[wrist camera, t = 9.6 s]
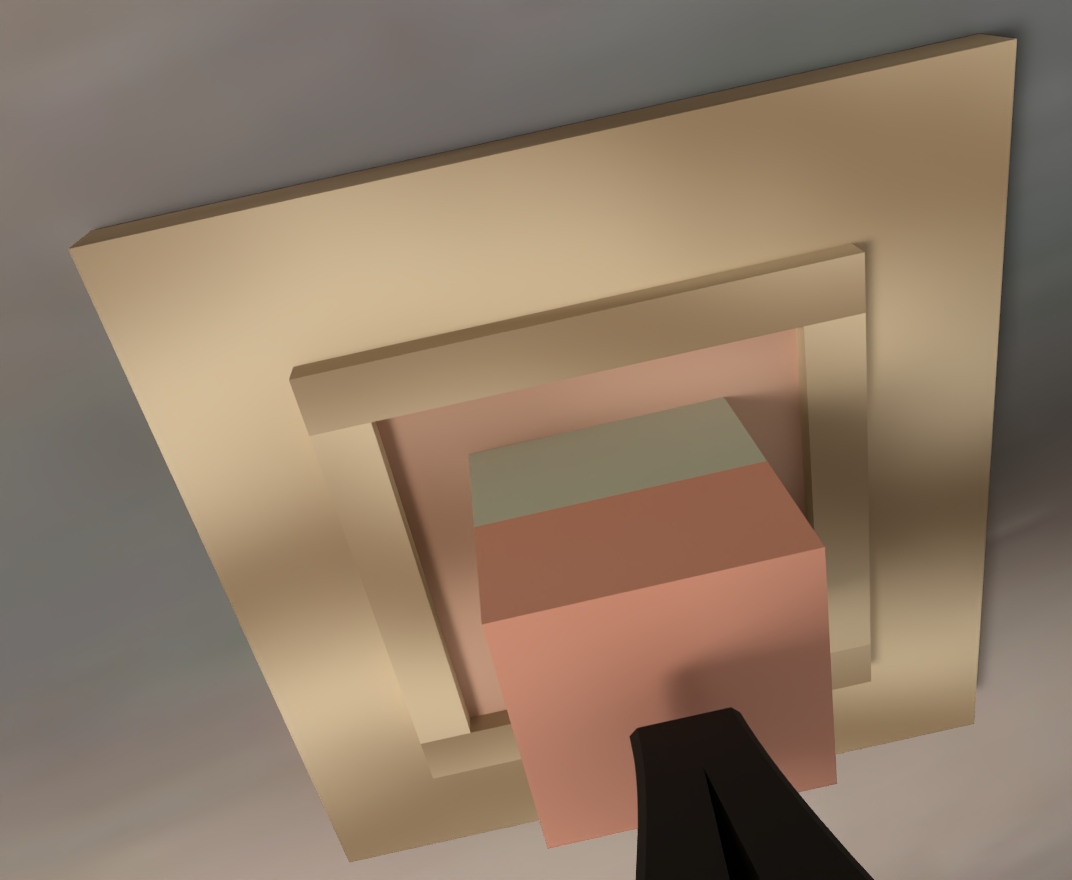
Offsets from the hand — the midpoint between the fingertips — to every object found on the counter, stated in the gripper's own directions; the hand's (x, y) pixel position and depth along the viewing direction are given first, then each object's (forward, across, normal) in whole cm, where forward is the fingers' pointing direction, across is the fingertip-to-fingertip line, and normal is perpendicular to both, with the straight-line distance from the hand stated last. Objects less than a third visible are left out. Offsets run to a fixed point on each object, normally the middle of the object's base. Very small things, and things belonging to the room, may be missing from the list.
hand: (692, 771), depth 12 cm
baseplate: (+6, 0, 0) cm, 6 cm away
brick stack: (+5, 0, 0) cm, 5 cm away
